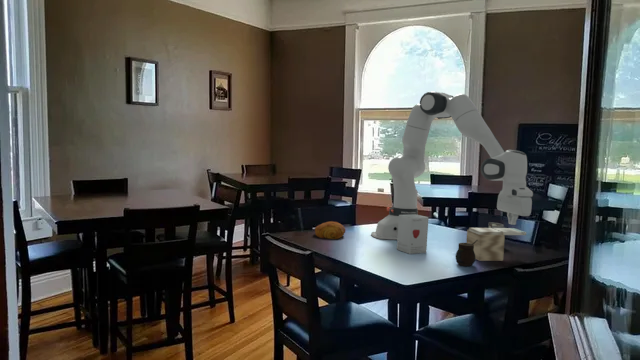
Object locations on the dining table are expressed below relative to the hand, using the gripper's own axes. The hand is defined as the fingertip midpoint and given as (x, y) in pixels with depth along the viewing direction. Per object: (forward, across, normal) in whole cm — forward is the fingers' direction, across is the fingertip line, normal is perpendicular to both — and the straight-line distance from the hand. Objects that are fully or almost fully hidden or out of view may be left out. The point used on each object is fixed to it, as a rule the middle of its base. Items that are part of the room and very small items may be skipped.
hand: (512, 224), depth 204 cm
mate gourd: (+14, +13, -25) cm, 31 cm away
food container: (+14, -22, +6) cm, 27 cm away
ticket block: (+14, 0, -11) cm, 18 cm away
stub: (+4, 0, -1) cm, 4 cm away
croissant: (+13, -42, -67) cm, 80 cm away
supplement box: (+14, -10, -38) cm, 42 cm away
